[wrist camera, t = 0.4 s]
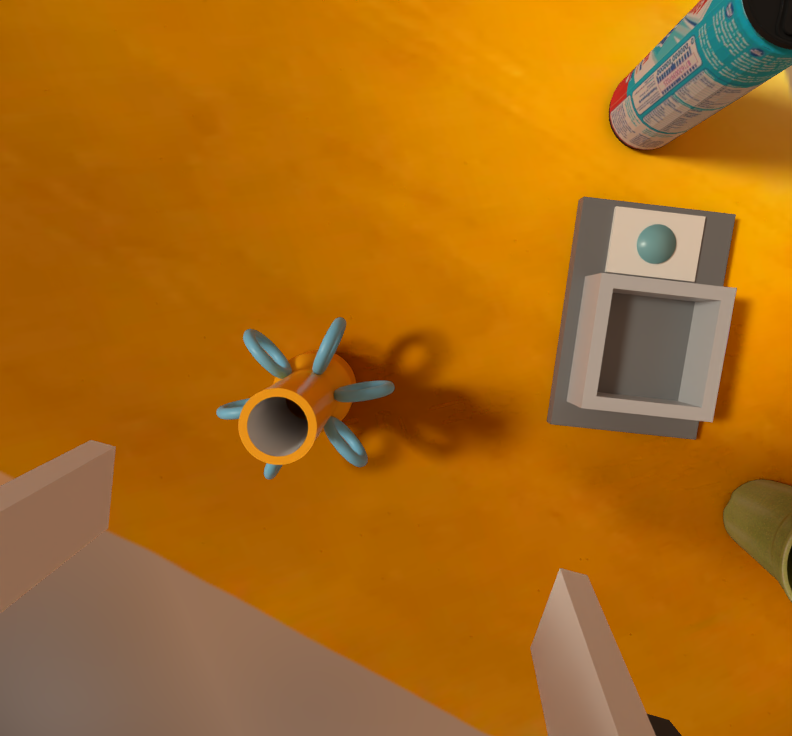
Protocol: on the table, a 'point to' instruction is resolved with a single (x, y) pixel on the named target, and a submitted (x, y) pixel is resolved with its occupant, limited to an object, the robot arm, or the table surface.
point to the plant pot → (764, 526)
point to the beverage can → (701, 69)
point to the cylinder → (301, 402)
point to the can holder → (643, 319)
